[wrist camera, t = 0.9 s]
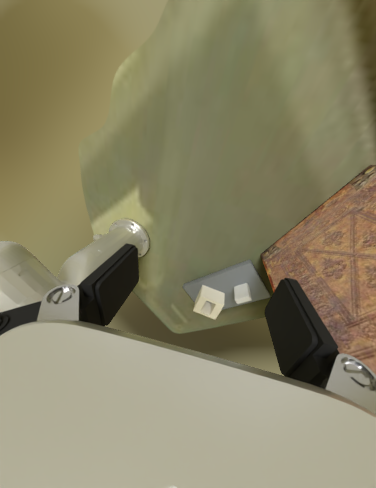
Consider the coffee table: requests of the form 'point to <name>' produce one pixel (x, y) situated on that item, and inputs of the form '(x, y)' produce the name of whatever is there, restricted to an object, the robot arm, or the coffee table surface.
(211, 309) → the collar
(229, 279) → the grey flat piece
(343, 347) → the book
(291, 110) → the coffee table surface
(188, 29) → the coffee table surface
